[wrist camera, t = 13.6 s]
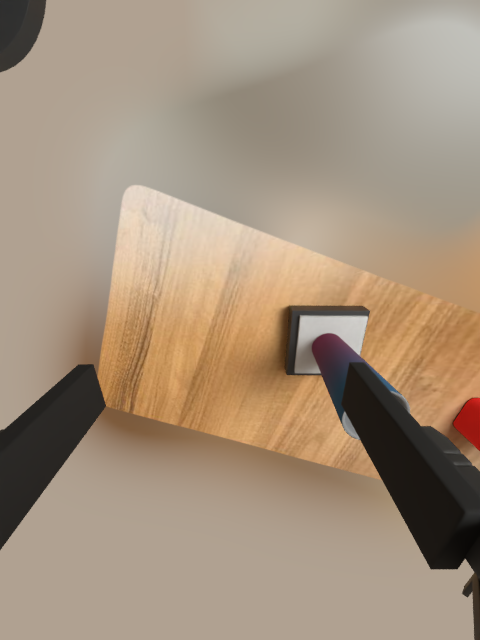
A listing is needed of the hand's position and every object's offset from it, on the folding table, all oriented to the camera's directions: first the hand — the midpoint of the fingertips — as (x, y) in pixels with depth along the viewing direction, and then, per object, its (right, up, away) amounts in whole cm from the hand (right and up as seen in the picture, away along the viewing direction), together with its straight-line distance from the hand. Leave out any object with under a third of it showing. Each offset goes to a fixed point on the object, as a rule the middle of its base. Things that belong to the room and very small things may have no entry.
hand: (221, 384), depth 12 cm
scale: (+15, 0, +28) cm, 32 cm away
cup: (+15, -1, +26) cm, 30 cm away
